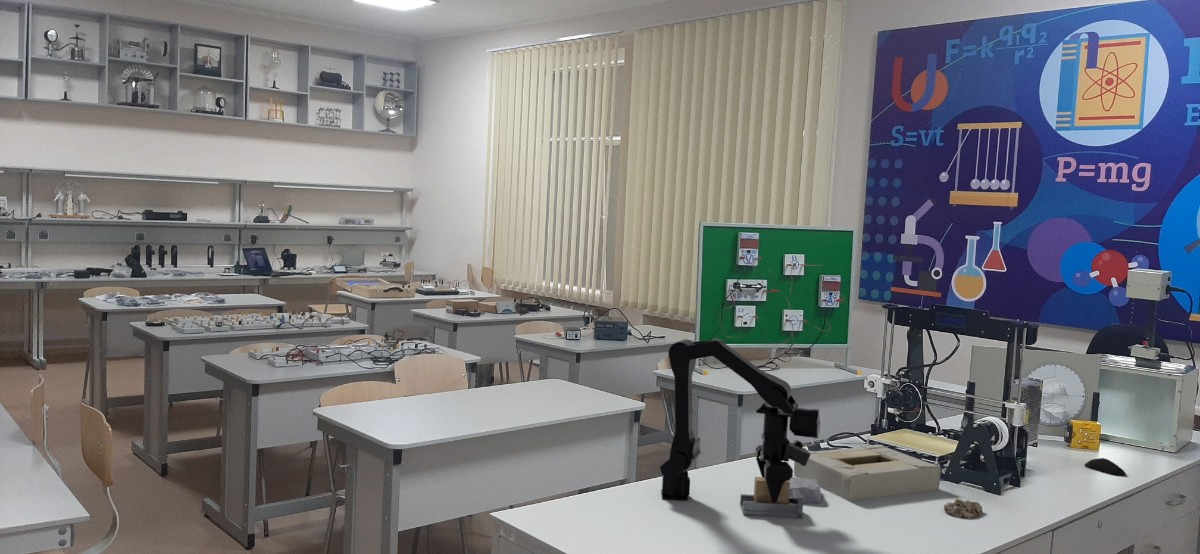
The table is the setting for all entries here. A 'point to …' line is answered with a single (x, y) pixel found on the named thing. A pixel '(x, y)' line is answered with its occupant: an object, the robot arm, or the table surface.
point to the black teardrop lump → (1105, 467)
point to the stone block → (806, 489)
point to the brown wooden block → (763, 493)
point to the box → (869, 472)
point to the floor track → (773, 506)
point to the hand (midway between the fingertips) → (771, 495)
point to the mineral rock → (963, 509)
